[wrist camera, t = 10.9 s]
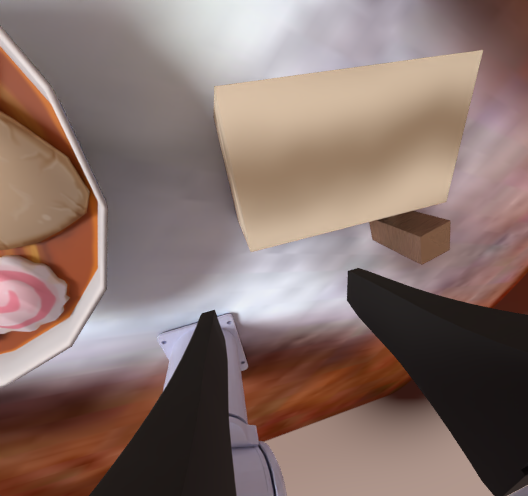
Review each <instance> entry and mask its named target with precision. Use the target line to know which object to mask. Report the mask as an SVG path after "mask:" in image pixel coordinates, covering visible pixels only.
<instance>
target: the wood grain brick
mask: <svg viewBox="0 0 528 496" xmlns="http://www.w3.org/2000/svg"><path fill="white" fill-rule="evenodd" d="M369 223H370V229H371V234H372V239H373V240H374V241H376V242H378V243H380V244H382V245H384V246H386V247H388V248H390V249H392V250H394V251H396V252H398V253H399V254H401V255H403V256H405V257H407V258H409V259H411V260H413V261H415V262H417V263H419V264H421V265H422V264H424V263H426V262H428V261H430V260H432V259H434V258H435V257H437V256H439V255H441V254H443V253H445V252H446V251H448V250H450V220H446V219H442V218H438V217H435V216H431V215H427V214H423V213H419V212H416V211H409V212H405V213H402V214H398V215H394V216H390V217H386V218H382V219H378V220H374V221H370V222H369Z"/></svg>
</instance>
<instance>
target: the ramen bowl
mask: <svg viewBox="0 0 528 496" xmlns="http://www.w3.org/2000/svg"><path fill="white" fill-rule="evenodd" d="M107 222H108V207H107V204H106V200H105V198H104V196H103V194H102V192H101V189H100V187H99V185H98V183H97V181H96V179H95V176H94V174H93V172H92V170H91V168H90V166H89V164H88V161H87V159H86V157H85V155H84V153H83V151H82V148H81V146H80V144H79V142H78V140H77V138H76V135H75V133H74V131H73V129H72V127H71V125H70V122H69V120H68V118H67V116H66V114H65V112H64V110H63V107H62V105H61V103H60V101H59V99H58V98H57V96H56V94H55V92H54V90H53V89H52V87H51V85H50V84H49V83H48V81H47V80H46V79H45V78H44V77H43V76H42V74H41V73H40V72H39V71H38V70H37V68H36V67H35V66H34V65H33V64H32V63H31V61H30V60H29V59H28V58H27V57H26V55H25V54H24V53H23V52H22V51H21V50H20V48H19V47H18V46H17V45H16V44H15V42H14V41H13V40H12V39H11V38H10V37H9V35H8V34H7V33H6V32H5V31H4V29H3V28H2V27H1V26H0V388H1V387H5V386H7V385H9V384H11V383H12V382H14V381H16V380H17V379H19V378H21V377H22V376H24V375H26V374H27V373H29V372H30V371H32V370H34V369H35V368H37V367H39V366H40V365H42V364H44V363H45V362H47V361H49V360H50V359H52V358H54V357H55V356H57V355H58V354H60V353H62V352H63V351H65V350H67V349H68V348H70V347H72V345H73V344H74V342H75V340H76V339H77V337H78V335H79V334H80V332H81V330H82V329H83V327H84V326H85V324H86V322H87V321H88V319H89V317H90V316H91V314H92V312H93V311H94V309H95V307H96V306H97V304H98V302H99V301H100V299H101V298H102V296H103V294H104V293H105V291H106V289H107Z"/></svg>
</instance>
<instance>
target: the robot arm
mask: <svg viewBox="0 0 528 496" xmlns="http://www.w3.org/2000/svg"><path fill="white" fill-rule="evenodd" d="M347 301H348V302H349V304H350V305H351V307H352V308H353V310H354V311H355V312H356V314H357V315H358V317H359V318H360V319H361V320H362V321H363V322H364V323H365V324H366V325H367V327H368V328H369V329H370V330H371V331H372V332H373V333H374V334H375V335H376V336H377V337H378V339H379V340H380V341H381V342H382V343H383V344H384V345H385V346H386V347H387V348H388V349H389V351H390V352H391V353H392V354H393V355H394V356H395V357H396V359H397V360H398V361H399V362H400V363H401V365H402V366H403V367H404V369H405V370H406V371H407V372H408V374H409V375H410V376H411V378H412V379H413V380H414V382H415V383H416V384H417V385H418V387H419V388H420V390H421V391H422V392H423V394H424V395H425V397H426V398H427V399H428V401H429V402H430V403H431V405H432V406H433V407H434V409H435V410H436V412H437V413H438V415H439V416H440V418H441V419H442V420H443V422H444V423H445V425H446V426H447V428H448V429H449V431H450V432H451V434H452V435H453V437H454V438H455V440H456V441H457V443H458V444H459V446H460V447H461V449H462V451H463V452H464V453H465V455H466V456H467V458H468V460H469V461H470V463H471V464H472V466H473V468H474V469H475V471H476V472H477V474H478V476H479V477H480V479H481V480H482V482H483V483H484V484H485V485H486V486H487V488H488V489H489V490H490V491H491V492H492V494H493V495H494V496H507V495H509V494H511V493H513V492H515V491H517V490H518V491H517V492H515V493H513V494H511V495H509V496H528V486H526V485H528V315H525V314H519V313H513V312H508V311H502V310H497V309H492V308H488V307H483V306H478V305H474V304H469V303H465V302H461V301H457V300H453V299H450V298H446V297H442V296H439V295H435V294H432V293H429V292H426V291H422V290H419V289H416V288H413V287H410V286H407V285H404V284H402V283H399V282H396V281H393V280H391V279H388V278H385V277H382V276H380V275H377V274H374V273H372V272H369V271H366V270H363V269H360V268H357V269H353V270H350V271H348V285H347ZM228 321H231V322H228ZM157 341H158V342H159V344H160V346H161V347H162V349H163V351H164V352H165V354H166V356H167V358H168V359H169V366H168V371H167V375H166V380H165V385H164V390H163V392H162V394H161V396H160V397H159V399H158V401H157V402H156V404H155V405H154V407H153V409H152V410H151V412H150V413H149V415H148V416H147V418H146V419H145V421H144V422H143V423H142V425H141V426H140V428H139V429H138V431H137V432H136V434H135V435H134V437H133V438H132V439H131V441H130V442H129V444H128V445H127V446H126V448H125V449H124V450H123V452H122V453H121V454H120V456H119V457H118V458H117V460H116V461H115V462H114V464H113V465H112V466H111V468H110V469H109V470H108V472H107V473H106V474H105V476H104V477H103V478H102V480H101V481H100V482H99V484H98V485H97V486H96V488H95V489H94V490H93V491H92V493H91V494H90V495H89V496H287V494H286V488H285V484H284V479H283V476H282V473H281V469H280V467H279V464H278V462H277V460H276V458H275V456H274V454H273V452H272V450H271V449H270V447H269V446H268V445H267V444H266V443H264V442H262V441H258V435H257V429H256V426H255V425H248V423H247V413H246V406H245V398H244V391H243V383H242V376H241V371H243V370H246V369H247V368H248V363H247V360H246V357H245V354H244V351H243V347H242V344H241V341H240V338H239V335H238V332H237V329H236V325H235V322H234V319H233V316H232V315H231V314H225V315H222V316H218V317H217V315H216V312H215V310H212V311H209V312H205V313H202V314H201V316H200V318H199V321H198V323H195V324H191V325H188V326H185V327H181V328H178V329H175V330H171V331H168V332H164V333H161V334H159V335H158V338H157ZM524 486H526V487H524ZM522 487H524V488H522ZM521 488H522V489H521ZM519 489H520V490H519Z"/></svg>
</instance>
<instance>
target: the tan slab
mask: <svg viewBox="0 0 528 496" xmlns="http://www.w3.org/2000/svg"><path fill="white" fill-rule="evenodd" d="M482 53H483V50H479V51H472V52H464V53H457V54H450V55H442V56H435V57H427V58H420V59H413V60H405V61H398V62H391V63H383V64H376V65H368V66H361V67H354V68H346V69H339V70H332V71H324V72H317V73H309V74H302V75H295V76H287V77H280V78H273V79H265V80H258V81H251V82H243V83H236V84H228V85H221V86H214V121H215V125H216V129H217V134H218V138H219V142H220V146H221V151H222V155H223V159H224V163H225V168H226V172H227V176H228V181H229V185H230V189H231V193H232V198H233V202H234V206H235V210H236V215H237V219H238V222H239V224H240V227H241V229H242V232H243V234H244V236H245V239H246V241H247V244H248V246H249V249H250V251H251V252H254V251H258V250H262V249H265V248H269V247H273V246H277V245H281V244H285V243H289V242H293V241H297V240H300V239H304V238H308V237H312V236H316V235H320V234H324V233H328V232H332V231H335V230H339V229H343V228H347V227H351V226H355V225H359V224H363V223H367V222H370V221H374V220H378V219H382V218H386V217H390V216H394V215H398V214H402V213H405V212H409V211H413V210H417V209H421V208H425V207H429V206H433V205H437V204H440V203H444V202H446V200H447V196H448V192H449V188H450V184H451V180H452V176H453V172H454V168H455V164H456V159H457V155H458V151H459V147H460V143H461V139H462V135H463V131H464V127H465V123H466V118H467V114H468V110H469V106H470V102H471V98H472V94H473V90H474V86H475V82H476V77H477V73H478V69H479V65H480V61H481V57H482Z"/></svg>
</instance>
